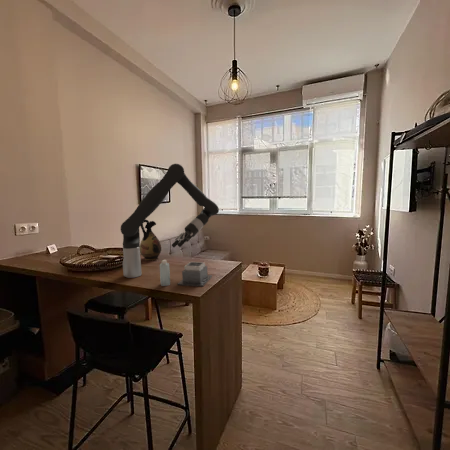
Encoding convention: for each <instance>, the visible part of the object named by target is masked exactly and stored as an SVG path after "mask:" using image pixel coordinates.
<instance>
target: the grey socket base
mask: <svg viewBox="0 0 450 450" xmlns="http://www.w3.org/2000/svg"><path fill="white" fill-rule="evenodd" d="M183 268H184V269H183V270H182V271H181V274H182V275H181V276H182V278H181V280H180V281H179V282H178V283H177V286H186V287H187V286H188V287H199V286H200V287H204V286H205V285H206V284H207V283H208V282H210V281H209V280H211V278H212V277H213V275H212V274H208V266H207V265H206V262H204V261H190V262H188V263H186V264H185V265H184V267H183ZM200 287H199V288H200Z"/></svg>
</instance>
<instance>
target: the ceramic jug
mask: <svg viewBox="0 0 450 450" xmlns="http://www.w3.org/2000/svg"><path fill="white" fill-rule="evenodd" d="M145 223H146V224H145ZM144 224H145V227H144ZM156 225H157V223H156V222H155V221H154V220H150V221H149V220H148V219H145V220H144V221H143V223H142V224H141V226H140V228H141V232H142V234H143V236H142V239H141V240H140V256H142V257H143V258H144V260H145V261H155V260H158V259H159V256H160V254H161V252H162V245H161V244H162V243H161V242H160V240H159V238H158V237H157V236H156V234H155V233H154V232H153V231H152V228H153V227H154V226H156Z"/></svg>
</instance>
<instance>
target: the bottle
mask: <svg viewBox="0 0 450 450" xmlns="http://www.w3.org/2000/svg"><path fill="white" fill-rule="evenodd" d="M158 265H159V277H160V278H159V279H160V280H159V281H160V286H161V287H167V286H170V285H171V273H170V263H169V262H167V259H163V260H161V263H160V264H158Z"/></svg>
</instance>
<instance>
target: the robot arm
mask: <svg viewBox="0 0 450 450" xmlns="http://www.w3.org/2000/svg"><path fill="white" fill-rule="evenodd" d="M176 184H178V185H180V186H181V188H182V189H184V191H186V193H187V194H188V195H189V196H190V197H191V198H192V199H193V201H194V202H195V203H196V204H197V205H198V206H199V207H203V209H201V211H200V213H199V214H198V215H197V216H195V218H194V219H192V220H191V221H190V222H189V223H188V224H187V225H186V226H185V227H184V232H182V233H180V234H179V235H178V236H177V237H176V238H175V240H174V241H173V243H172V244H171V247H172V248H175V247H176V246H178V247H179V248H181V247H182V246H183V245H185V243H188V242H189V241H190V240H191V238H194V237H196V235H197V234H198V233H199V232H200V231H201V230H202V229H203V227H204V226H205V225H207V223H208V222H209V219H210V218H212V217H213V216H216V215H218V214H219V212H220V209H219V206H218V204H216V203H215V202H214V201H213V200H212V199H210V198H208V197H207V196H206V194H205V193H204V192H203V191H202V190H201V189H200V188H199V187H198V186H196V185H195V183H193V182H192V181H191V180H190V179H189V177H188V176H187V175H186V173H185V167H183V165H182V164H179V163H173V164H171V165H170V166H169V167H168V168H167V171H166V172H165V174H164V176H163V177H162V178H161V179H160V180H159V182H157V183H156V184H155V185H154V186H153V187H152V188H151V189H150V190H149V191H148V192H147V193H146V194H145V196H144V197H143V198H142V200H141V201H140V203H139V204H138V205H137V207H136V208H135V210H134V211H133V213H131V215H130V216H128V218H126V220H125V221H123V222H122V223H121V224H120V233H121V234H122V237H123V238H122V240H123V241H122V253H123V261H122V271H123V272H122V273H123V277H126V278H128V279H130V278H138V277H140V276H142V262H141V261H142V260H141V259H142V258H141V253H140V243H141V237H140V235H141V234H140V228H141V224H142V223H143V221H144V220H147V218H148V217H149V216H150V215H151V214H153V213H154V212H155V210H157V209H158V207H159V206H160V205H161V203H162V202H163V201H164V200H165V199H166V197H167V196H168V194H169V192H170V191H171V190H172V188H173V187H174V186H175V185H176ZM143 224H144V223H143Z"/></svg>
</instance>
